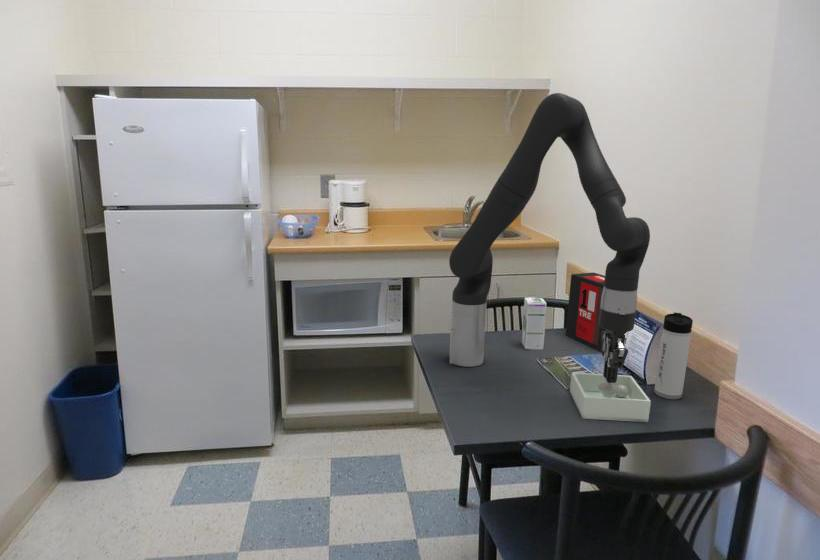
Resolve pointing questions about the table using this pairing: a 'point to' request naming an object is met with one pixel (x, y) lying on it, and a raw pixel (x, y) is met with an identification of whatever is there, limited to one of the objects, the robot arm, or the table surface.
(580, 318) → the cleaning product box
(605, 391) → the screw
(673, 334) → the travel mug
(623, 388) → the pebble
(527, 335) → the syrup box
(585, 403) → the tub
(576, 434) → the table surface
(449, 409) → the table surface
